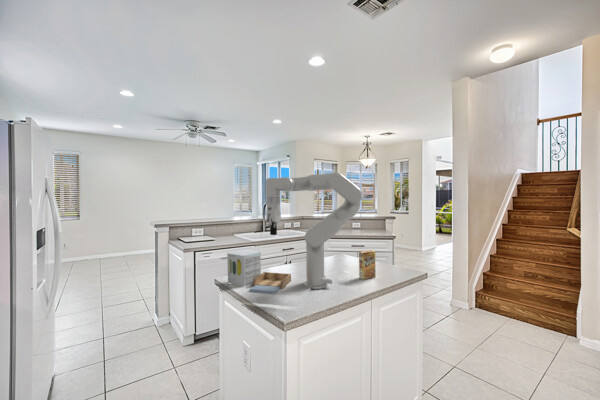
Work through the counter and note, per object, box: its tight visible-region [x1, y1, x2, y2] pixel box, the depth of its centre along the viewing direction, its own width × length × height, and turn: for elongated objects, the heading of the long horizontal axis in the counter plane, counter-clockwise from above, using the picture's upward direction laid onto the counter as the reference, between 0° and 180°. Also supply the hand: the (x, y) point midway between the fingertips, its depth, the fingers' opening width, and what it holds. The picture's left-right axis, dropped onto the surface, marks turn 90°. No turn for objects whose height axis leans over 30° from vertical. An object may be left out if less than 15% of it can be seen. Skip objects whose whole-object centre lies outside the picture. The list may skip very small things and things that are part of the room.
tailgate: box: [249, 285, 282, 295], centre depth 139 cm, size 13×2×8 cm
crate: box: [253, 271, 292, 290], centre depth 149 cm, size 16×14×5 cm
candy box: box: [358, 250, 377, 280], centre depth 161 cm, size 9×4×15 cm, turn 113°
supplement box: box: [226, 248, 262, 288], centre depth 153 cm, size 13×13×18 cm
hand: (273, 234), depth 150 cm, fingers closed
